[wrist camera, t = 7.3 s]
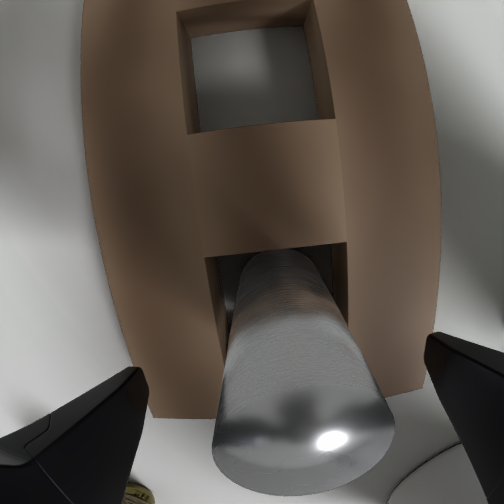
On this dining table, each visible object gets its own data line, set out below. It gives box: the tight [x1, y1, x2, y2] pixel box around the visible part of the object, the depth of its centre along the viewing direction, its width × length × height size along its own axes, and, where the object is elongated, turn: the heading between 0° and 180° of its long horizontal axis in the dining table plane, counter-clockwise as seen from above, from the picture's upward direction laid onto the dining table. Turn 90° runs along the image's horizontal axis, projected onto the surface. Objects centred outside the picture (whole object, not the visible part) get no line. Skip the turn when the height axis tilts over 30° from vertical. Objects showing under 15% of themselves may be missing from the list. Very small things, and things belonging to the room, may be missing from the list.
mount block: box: [81, 0, 441, 419], centre depth 13 cm, size 14×21×3 cm, turn 7°
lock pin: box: [212, 248, 395, 496], centre depth 10 cm, size 4×4×10 cm
